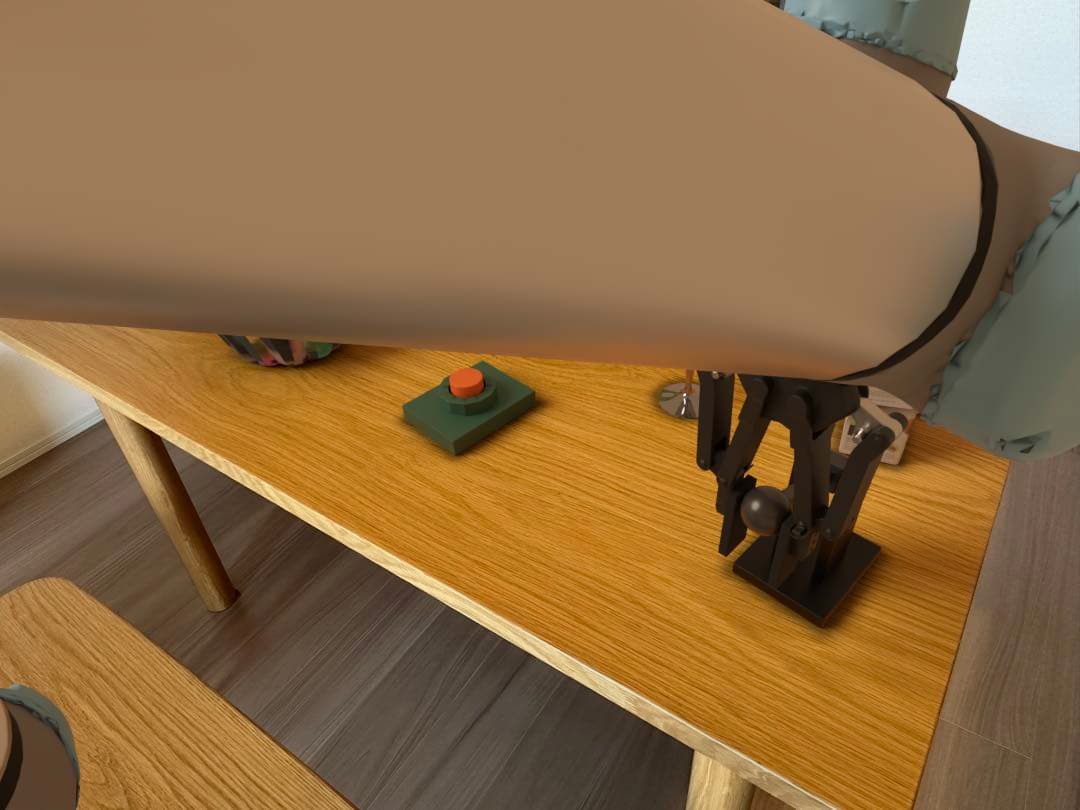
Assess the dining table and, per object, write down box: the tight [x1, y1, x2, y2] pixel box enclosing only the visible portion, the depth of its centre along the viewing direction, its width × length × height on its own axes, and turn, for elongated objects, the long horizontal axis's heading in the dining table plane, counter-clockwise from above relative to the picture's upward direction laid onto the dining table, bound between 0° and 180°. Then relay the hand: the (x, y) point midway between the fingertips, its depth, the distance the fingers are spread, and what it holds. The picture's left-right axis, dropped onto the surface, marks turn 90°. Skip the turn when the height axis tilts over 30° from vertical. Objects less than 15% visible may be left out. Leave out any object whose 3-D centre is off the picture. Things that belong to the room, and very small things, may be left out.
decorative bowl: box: [217, 334, 342, 368], centre depth 102 cm, size 26×28×10 cm
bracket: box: [731, 434, 883, 629], centre depth 61 cm, size 11×9×14 cm
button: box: [449, 367, 484, 398], centre depth 84 cm, size 4×4×2 cm
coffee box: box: [838, 386, 918, 466], centre depth 74 cm, size 9×6×16 cm
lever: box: [740, 449, 848, 536], centre depth 54 cm, size 15×4×4 cm, turn 134°
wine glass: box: [657, 369, 700, 419], centre depth 81 cm, size 8×8×15 cm
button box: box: [401, 360, 537, 457], centre depth 85 cm, size 13×10×4 cm
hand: (756, 559), depth 53 cm, fingers closed on lever, 4 cm apart
